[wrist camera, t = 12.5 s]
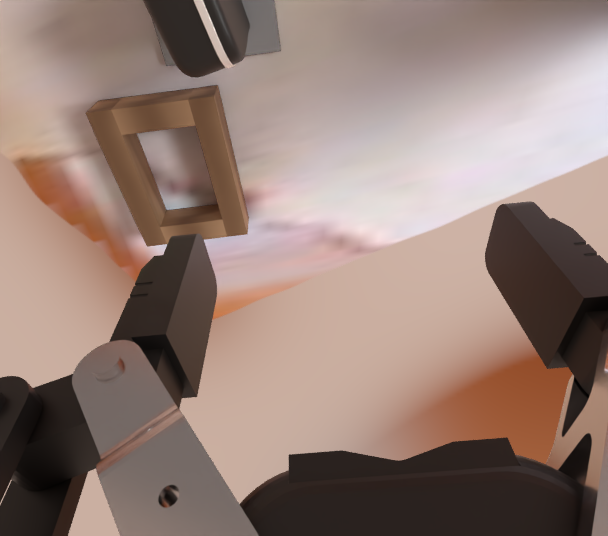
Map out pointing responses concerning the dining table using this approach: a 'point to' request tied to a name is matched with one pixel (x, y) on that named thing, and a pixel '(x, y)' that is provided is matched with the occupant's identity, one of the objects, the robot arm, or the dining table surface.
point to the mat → (260, 33)
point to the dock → (137, 174)
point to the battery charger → (202, 33)
